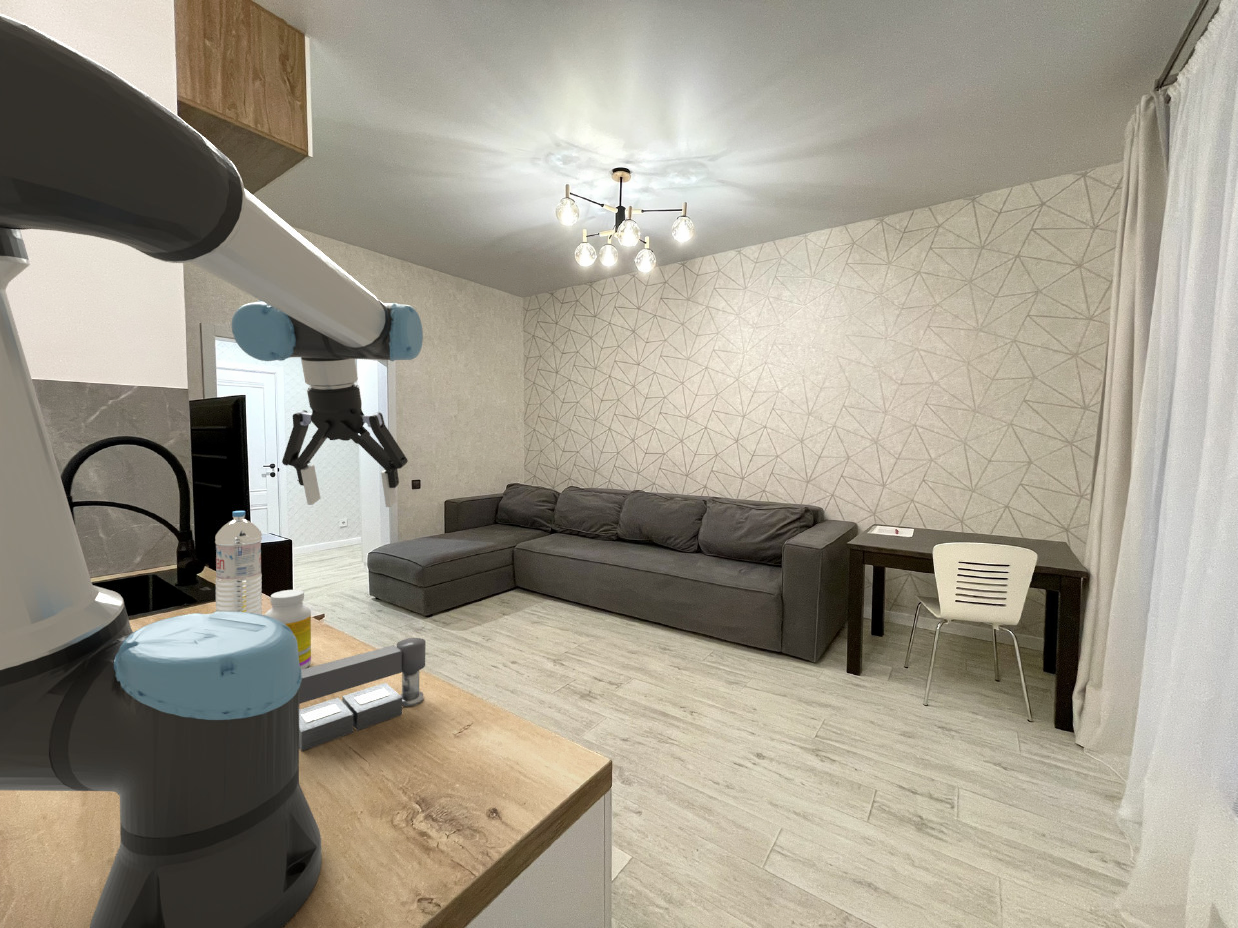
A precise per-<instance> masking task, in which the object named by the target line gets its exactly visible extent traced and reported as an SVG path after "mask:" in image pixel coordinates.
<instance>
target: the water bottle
mask: <svg viewBox="0 0 1238 928" xmlns="http://www.w3.org/2000/svg"><path fill="white" fill-rule="evenodd" d="M232 518H233V519H232V520H230V521H228V522H227V523H226V524H224V525H223V526H222V527H221V528H220V529H219V530H218V531H217V533H216V534H215V538H214V539H215V541H214V543H215V550H216V551H215V552H216V555H215V556H216V557H215V562H216V563H215V564H216V565H215V566H216V568H215V569H216V571H215V573H216V574H215V575H216V578H215V612H218V611H236V612H247V613H254V614H260V615H263V613H262V612H263V607H262V605H263V603H262V602H263V601H262V600H263V599H262V597H263V594H262V591H263V589H262V580H263V579H262V576H263V575H262V549H261V548H262V547H261V546H262V539H263V538H262V536H263V535H262V532H261V530H260V529H259V527H258V526H257V525H255V524H254V522H253V523H252V522H251V521H250V520H247V519H246V511H245V510H235V511H232Z"/></svg>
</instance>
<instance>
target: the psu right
mask: <svg viewBox="0 0 1238 928" xmlns="http://www.w3.org/2000/svg"><path fill="white" fill-rule="evenodd" d="M400 695H401V694H399V693H398V692H397V691H396V690H395V689H394V688H393V687H391V685H390V684H388V683H387V682H383V683H380V684H377V685H373V686H371V687H366V688H364V689H361V690H358V691H355V692H351V693H348V694H345V695H342V696H341V697H342V700H341V701H342V702H343V703H344V704H345V705H346V706H347V708H348V709H349V710H350V711H351V712H352V713H353V729H355V731H357V732H358V731H361V730H363V729H367V728H369V727H372V726H375V725H377V724H381V723H384V722H385V721H388V720H391V719H394V718H398V717H400V716H402V715H403V706H402V697H401V696H400Z"/></svg>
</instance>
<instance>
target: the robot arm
mask: <svg viewBox="0 0 1238 928" xmlns="http://www.w3.org/2000/svg"><path fill="white" fill-rule="evenodd" d="M242 179H243V178H242V176H241V175H240V173H239V171H238V169H237V167H236V166H235V164H234V163H233V162H232V161H231V160H230V158H228V156H227V155H225V153H223V152H222V151H221V150H220V149H219V148H217V147H216V146H215V145H214V144H212V142H210V140H208V139H207V138H206V137H204V136H203V135H202V134H201V133H199V132H198V131H197V130H196V129H194V127H192V126H190V125H189V124H188V123H187V122H186V121H184V120H183V119H182V118H181V117H180V116H178V115H177V114H176V113H174V112H173V111H171V110H170V109H169V108H167V107H166V106H164V105H163V104H161V103H160V102H159V101H157V100H156V99H155V98H153V97H151V95H148V94H147V93H146V92H144V91H143V90H142V89H140V88H138V87H136V86H135V85H133V84H132V83H131V82H129V81H127V79H124V78H123V77H121V76H119V75H118V74H117V73H115V72H113V71H112V70H110V69H108V68H107V67H105V66H103V65H102V64H100V63H99V62H97V61H95V60H93V59H92V58H90V57H88V56H86V54H83V53H81V52H80V51H78V50H77V49H75V48H73V47H71V46H69V45H67V44H65V43H63V42H62V41H60V40H58V39H55V38H54V37H52V36H50V35H48V34H46V33H45V32H42V31H41V30H38V29H36V28H35V27H32V26H31V25H28V24H26V23H24V22H21V21H19V20H16V19H15V18H12V17H10V16H7V15H5V14H2V13H0V791H14V792H15V791H17V792H18V791H19V792H21V791H23V792H24V791H26V792H27V791H31V792H32V791H34V792H38V791H41V792H43V791H44V792H46V791H47V792H53V791H54V792H114V793H116V794H117V795H118V796H119V811H120V812H119V819H120V824H119V825H120V830H119V831H120V841H119V843H120V844H119V847H118V849H117V851H116V855H115V857H114V860H113V863H112V865H111V868H110V870H109V873H108V875H107V878H106V880H105V884H104V886H103V889H102V891H101V893H100V896H99V899H98V900H97V901H98V902H97V905H96V906H95V907H96V908H95V910H94V911H93V914H92V917H91V921H90V924H89V928H282V927H284V926H285V925H286V924H287V923H288V922H289V921H290V920H291V919H292V918H293V917H294V916H295V914H296V913H297V912H298V911H299V909H301V907H302V906H303V904H304V903H306V901H307V899H308V898H309V896H310V894H311V893H312V891H313V890H314V887H315V886H316V885H317V884H316V883H317V881H318V879H319V876H320V871H321V868H322V836H321V831H320V828H319V826H318V823H317V821H316V818H315V816H314V814H313V812H312V810H311V808H310V807H311V806H310V804H309V803H308V801H307V798H306V796H305V793H304V792H303V789H302V787H301V785H300V779H299V778H300V748H299V710H300V707H301V706H300V684H301V681H302V673H301V668H300V665H299V656H298V645H297V640H296V637H295V636H294V635H293V633H292V631H291V629H290V628H289V627H288V626H287V625H285V624H284V623H282V622H281V621H279V620H277V619H274V618H272V617H268V616H265V614H262V615H260V614H254V613H247V612H236V611H218V612H216V611H214V612H212V613H200V612H195V613H194V612H193V613H188V614H182V615H177V616H171V617H168V618H164V619H163V618H162V619H160V620H157V621H154V622H151V623H149V624H147V625H144V626H141V627H140V628H138V629H136V630H134V631H133V629H132V627H131V623H130V620H129V616H128V613H127V609H126V605H125V601H124V598H123V596H121V594H120V593H118V592H116V591H113V590H110V589H107V588H104V587H100V586H97V585H93V583H92V579H91V576H90V572H89V569H88V566H87V562H86V559H85V556H84V552H83V549H82V545H81V543H80V538H79V536H78V532H77V529H76V526H75V522H74V518H73V514H72V512H71V508H70V505H69V501H68V498H67V494H66V491H65V488H64V484H63V482H62V481H63V480H62V478H61V474H60V471H59V468H58V464H57V461H56V460H57V459H56V457H55V454H54V451H53V450H54V449H53V447H52V444H51V440H50V437H49V433H48V431H47V427H46V424H45V420H44V417H43V413H42V410H41V409H42V408H41V407H40V403H39V400H38V396H37V394H36V390H35V389H36V388H35V386H34V382H33V379H32V376H31V375H32V374H31V372H30V370H29V365H28V362H27V359H26V356H25V353H24V349H23V346H22V342H21V339H20V335H19V331H18V329H17V325H16V322H15V318H14V314H13V311H12V308H11V304H10V301H9V298H8V294H7V291H6V289H7V287H8V285H9V283H11V281H13V280H14V279H15V278H16V277H17V276H19V275H20V274H21V273H22V272H23V271H24V270H26V269H27V268H28V267H29V266H31V264H30V260H29V255H28V252H27V248H26V243H25V242H24V241H25V240H24V238H23V235H22V231H21V230H23V231H24V230H41V231H42V230H43V231H53V232H54V231H55V232H56V231H57V232H62V233H69V234H77V235H83V236H89V237H90V236H91V237H96V238H100V239H104V240H108V241H111V242H112V241H113V242H116V243H118V244H123V245H126V246H128V247H131V248H133V249H135V250H137V251H138V252H140V253H142V254H144V255H146V256H148V257H150V258H153V259H155V260H158V261H161V262H165V263H171V264H186V263H190V264H192V265H194V266H196V267H197V268H199V269H201V270H203V271H205V272H207V273H209V274H210V275H213V276H214V277H216V278H217V279H220V280H221V281H224V282H225V283H227V284H230V285H231V286H233V287H235V288H237V289H239V290H240V291H242V292H244V293H245V294H248V295H249V296H252V297H253V298H255V299H257V301H255V302H250V303H246V304H243V305H241V306H240V307H239V308H237V309H236V311H235V312H234V313H233V316H232V318H231V319H232V320H231V323H230V324H231V330H232V331H231V332H232V334H233V339H234V341H235V342H236V344H237V345H238V347H239V348H240V349H241V350H242V351H243V352H244V353H245V354H246V355H248V356H249V357H252V358H253V359H256V360H259V361H261V362H263V361H264V362H273V361H280V362H283V361H285V360H286V359H290V358H300V360H301V365H302V371H303V372H302V373H303V378H304V383H305V384H307V385H309V386H308V387H307V388H306V392H307V393H306V394H307V399H308V403H309V407H310V409H311V410H312V411H311V412H308V410H306V409H302V410H299V411H298V412H295V413H293V414H292V426H293V427H292V430H291V433H290V436H289V438H288V442H287V445H286V448H285V451H284V454H283V457H282V460H281V463H282V465H284V466H291V467H293V468H294V469H295V471H296V475H297V479H298V484H299V485H300V486H303V487H304V492H305V497H306V503H307V505H308V506H313V505H314V504H315V503H316V502H318V501H320V500H321V493H320V488H319V483H318V478H317V473H316V469H315V464H310V463H311V460H312V459H313V458H314V456H315V455H316V454H317V452H319V450H320V448H321V447H322V446H323V444H324V443H325V442H326V440H327V439H329V440H330V441H336V440H337V441H338V440H340V441H350V440H352V441H353V443H354V444H357V445H359V446H360V447H361V448H362V449H363V450H364V451H365V452H367V454H368V455H369V456H370V457H371V458H372V459H373V460H374V461H376V462H377V464H379V465H380V466H381V467H382V468H383V470H382V471H381V473H380V476H381V483H382V488H383V490H382V491H383V495H384V496H383V497H384V503H385V508H391V507H392V506H393V505H394V504H395V503H396V502H397V495H396V488H397V487H398V486H399V483H400V480H399V473H398V469H403V467H404V466H405V465H406V464H407V463H408V462H409V460H408V458H407V457H406V455H405V453H404V452H403V450H402V449H401V447H400V446H399V444H398V443H397V441H396V440H395V438H394V437H393V435H392V434H391V431H390V430H389V429H388V427H387V425H386V424H385V420H384V416H383V413H382V412H380V411H378V412H375V413H374V414H364V412H363V410H362V405H363V404H362V397H361V396H362V395H361V390H360V385H358V383H356V382H357V381H358V379H359V378H358V373H357V372H358V371H357V365H356V360H374V361H375V360H378V361H379V360H380V361H390V362H395V361H412V360H414V359H415V358H417V357H418V356H419V354H420V353H421V351H422V347H423V339H424V337H423V336H424V334H423V333H424V332H423V324H422V320H421V318H420V315H419V313H418V311H417V310H416V309H415V308H414V307H413V306H411V305H410V304H409V305H408V304H402V303H401V304H400V303H397V302H391V303H384V302H382V301H381V300H380V299H379V298H377V297H376V296H375V295H374V294H373V293H372V292H370V291H369V290H368V289H367V288H366V287H364V286H363V285H362V284H360V282H358V281H357V280H356V279H354V277H352V275H350V274H349V273H347V272H346V271H345V270H344V269H342V268H341V267H340V266H339V265H337V264H336V263H335V262H334V261H333V260H332V259H330V258H329V257H328V256H327V255H325V254H324V253H323V252H322V251H321V250H320V249H318V248H317V247H316V246H315V245H314V244H312V243H311V242H310V241H309V240H308V239H306V238H305V237H304V236H303V235H301V233H299V232H297V230H295V229H294V228H293V227H292V226H291V225H289V224H288V222H286V221H285V220H283V219H282V218H281V217H280V216H278V215H277V214H276V213H275V212H274V211H272V210H271V209H270V208H269V207H268V206H266V205H265V204H264V203H263V202H261V200H259V199H258V198H257V197H256V196H255V195H253V194H252V193H250V192H249V191H248V190H247V189H246V188H245V186H244V185H245V184H244V182H243V180H242ZM311 424H313V425H314V426H315V427H316V428H317V429H316V431H315V433H314V434H313V436H312V437H311V438H312V439H311V440H310V441H309V442H308V444H307V445H306V446H305V448H304V449H303V451H302V447H303V445H304V441H305V439H306V435H307V432H308V429H309V426H310V425H311ZM365 424H367V427H369V428H370V429H371V431H372V433H373V434H374V436H375V438H376V439H375V438H374V437H372V436H371V433H370V431H369V430H368V429H367V428H365V427H364V425H365ZM377 441H378V442H377ZM301 451H302V452H301Z"/></svg>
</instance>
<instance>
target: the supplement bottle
mask: <svg viewBox="0 0 1238 928" xmlns="http://www.w3.org/2000/svg"><path fill="white" fill-rule="evenodd" d="M304 599H305V592H304V590H303V589H302V590H301V589H287V590H285V589H284V590H280V591H277V592H274V593H272V594H271V595H270V605H271V606H272V607H271V608H270V609H268V610H267V611H266V613H265V614H264V615H265V616H268V617H272V618H274V619H277V620H279V621H281V622H282V623H284V624H285V625H287V626H288V627H289V628H290V629H291V631H292V633H293V635H294V636H295V637H296V640H297V645H298V656H299V665H300V668H301V670H302V669H306V668H309V666H310V665H311V662H312V633H311V632H312V626H311V625H312V622H311V621H312V620H311V619H312V613H311V612H312V611H311V609H310V607H309V606H308V605H306V604H304V603H303V601H304Z"/></svg>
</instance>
